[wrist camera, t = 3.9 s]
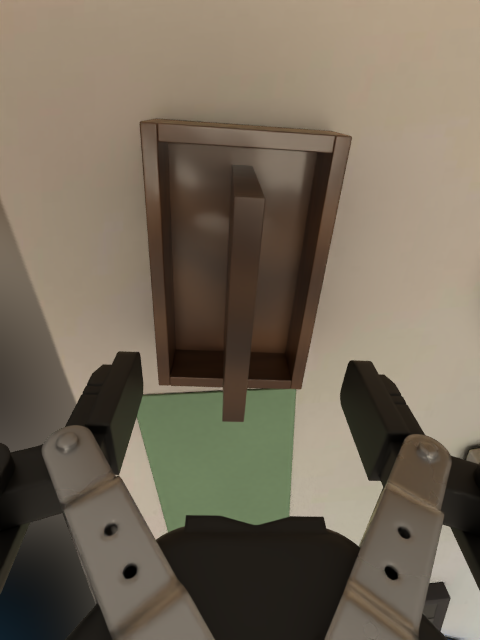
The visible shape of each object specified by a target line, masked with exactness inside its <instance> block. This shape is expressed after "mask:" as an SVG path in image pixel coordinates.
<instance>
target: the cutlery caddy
mask: <svg viewBox="0 0 480 640" xmlns="http://www.w3.org/2000/svg"><path fill="white" fill-rule="evenodd" d="M140 134H141V148H142V162H143V175H144V189H145V203H146V216H147V230H148V244H149V257H150V271H151V285H152V298H153V312H154V326H155V339H156V353H157V367H158V380H159V385H171V386H199V387H223V407H222V421H223V422H244V416H245V406H246V395H247V388H269V389H301V387H302V382H303V377H304V372H305V367H306V362H307V357H308V353H309V348H310V343H311V338H312V333H313V328H314V323H315V318H316V313H317V308H318V303H319V298H320V293H321V288H322V283H323V278H324V273H325V268H326V263H327V259H328V254H329V249H330V244H331V239H332V234H333V229H334V224H335V219H336V214H337V209H338V204H339V199H340V194H341V189H342V184H343V179H344V174H345V169H346V164H347V160H348V155H349V150H350V145H351V140H352V137H351V136H348V135H344V134H341V133H337V132H333V131H323V130H309V129H295V128H281V127H267V126H253V125H239V124H225V123H210V122H196V121H182V120H168V119H151V120H146V121H141V122H140Z"/></svg>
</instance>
